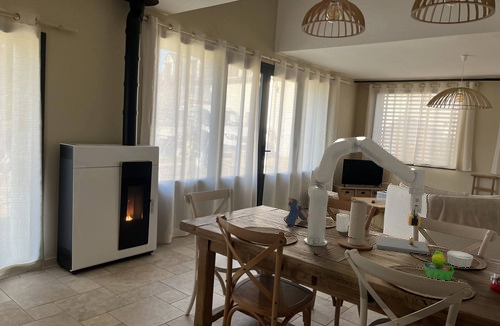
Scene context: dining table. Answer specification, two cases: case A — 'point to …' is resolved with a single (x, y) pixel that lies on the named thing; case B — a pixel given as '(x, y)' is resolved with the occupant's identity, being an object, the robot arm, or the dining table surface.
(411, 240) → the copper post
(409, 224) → the orange cube
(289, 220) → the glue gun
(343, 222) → the white cup
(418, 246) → the grey flat board
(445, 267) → the fruit basket
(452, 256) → the ramekin
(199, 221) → the dining table surface
